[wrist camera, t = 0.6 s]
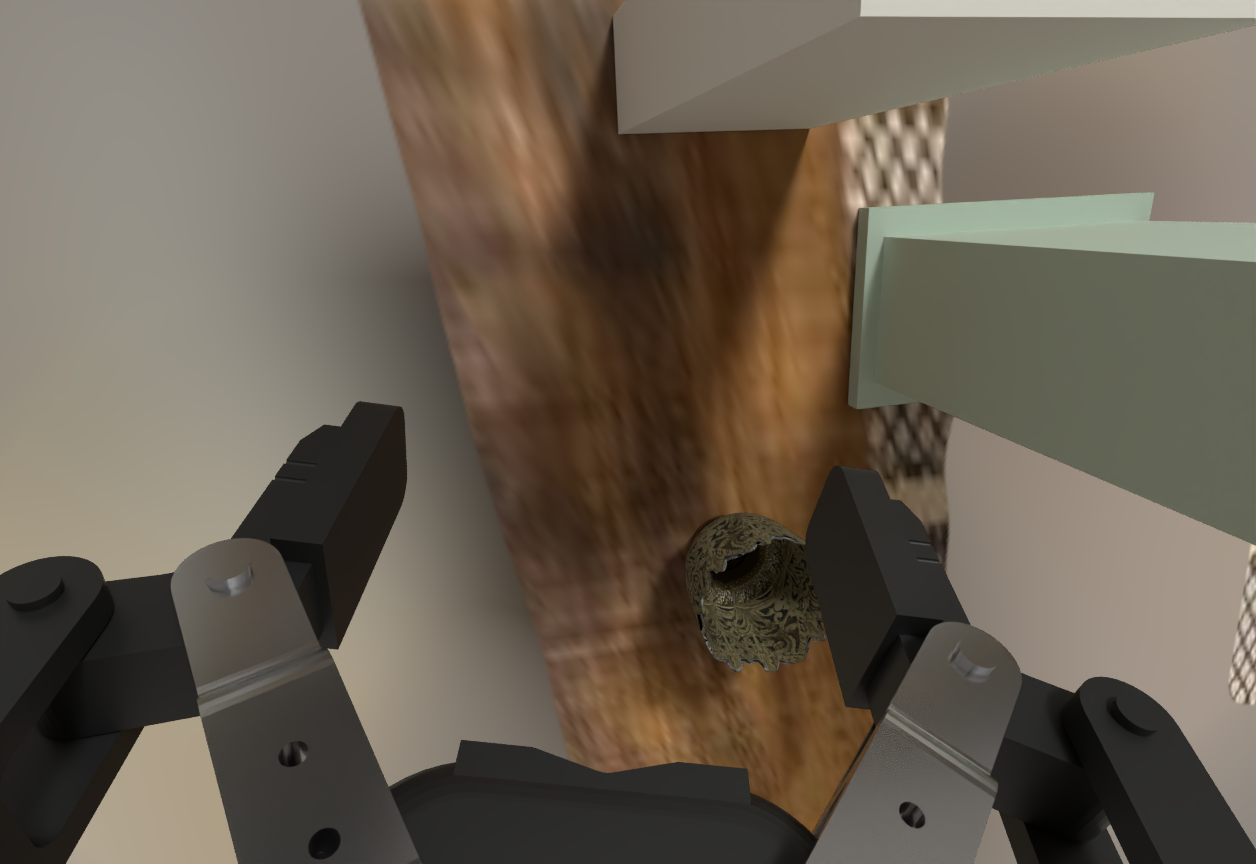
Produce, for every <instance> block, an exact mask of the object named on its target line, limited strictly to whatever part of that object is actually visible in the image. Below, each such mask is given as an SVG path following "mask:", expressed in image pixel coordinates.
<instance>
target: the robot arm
mask: <svg viewBox="0 0 1256 864" xmlns="http://www.w3.org/2000/svg"><path fill="white" fill-rule="evenodd" d="M405 440H406V439H405V420H404V412H403V409H402V407H399V406H391V405H384V404H377V403H369V402H362V401H359V402H357V403H356V404H355V406H354V407H353V409H352V410H351V412H350V413H349V415H348V417H347V418H346V420H345V421H344V423H343V424H342V426H341V427H339V426H331V425H323V426H321V427H320V428H318V429H317V430H315V431H314V432H312V433H311V434H309V435H308V436H306V437H305V438H303V439H302V440H300V441H299V443H298V444H297V446H296V447H295V448H294V450H293V451H292V453H291V454H290V456H289V457H288V458H287V462H286V464H283V466H282V467H281V468H280V470H279V471H278V473H277V474H276V476H275V480H272V481H271V482H270V484H269V485H268V487H267V488H266V490H265V491H264V492H263V494H262V495H261V497H260V498H259V500H258V501H257V502H256V504H255V505H254V507H253V508H252V510H251V511H250V512H249V514H248V515H247V517H246V518H245V519H244V521H243V522H242V524H241V525H240V526H239V528H238V529H237V531H236V532H235V534H234V535H233V536H232V538H231V539H228V540H224V541H220V542H216V543H213V544H211V545H208V546H206V547H204V548H201V549H200V550H198V551H196V552H195V553H193V554H191V555H190V556H189V557H188V558H186V559H185V560H184V561H183V562H182V563H181V564H180V565H179V566H178V568H177V569H176V571H175V572H173V573H169V574H163V575H156V576H148V577H140V578H131V579H123V580H115V581H106V582H105V580H104V577H103V575H102V572H101V571H100V569H99V568H98V566H96V565H95V564H94V563H93V562H91V561H89V560H86V559H83V558H79V557H71V556H57V557H48V558H43V559H38V560H35V561H31V562H28V563H25V564H22V565H20V566H17V567H15V568H13V569H10V570H9V571H6V572H4V573H3V574H1V575H0V864H66V862H67V860H68V859H69V857H70V855H71V853H72V852H73V850H74V848H75V846H76V845H77V843H78V841H79V840H80V838H81V836H82V834H83V833H84V831H85V829H86V827H87V826H88V824H89V822H90V820H91V819H92V817H93V815H94V813H95V812H96V810H97V808H98V806H99V805H100V803H101V801H102V799H103V798H104V796H105V794H106V792H107V791H108V789H109V787H110V785H111V784H112V782H113V780H114V779H115V777H116V775H117V773H118V772H119V770H120V768H121V766H122V765H123V763H124V761H125V759H126V758H127V756H128V754H129V752H130V751H131V749H132V747H133V745H134V744H135V742H136V740H137V738H138V737H139V735H140V733H141V731H142V730H143V728H144V726H148V725H154V724H159V723H165V722H170V721H175V720H180V719H186V718H191V717H197V716H201V720H202V724H203V728H204V732H205V736H206V740H207V744H208V748H209V751H210V755H211V759H212V763H213V767H214V771H215V775H216V779H217V783H218V787H219V790H220V794H221V798H222V802H223V806H224V810H225V814H226V818H227V822H228V825H229V830H230V833H231V837H232V841H233V845H234V849H235V853H236V857H237V861H238V864H973V863H974V860H975V857H976V854H977V851H978V848H979V844H980V842H981V838H982V835H983V833H984V830H985V827H986V824H987V821H988V818H989V815H990V812H991V809H992V808H993V809H995V810H998V811H999V813H1000V816H1001V819H1002V821H1003V824H1004V827H1005V830H1006V833H1007V835H1008V838H1009V841H1010V844H1011V847H1012V849H1013V852H1014V855H1015V858H1016V861H1017V864H1123V863H1122V860H1121V858H1120V856H1119V854H1118V852H1117V850H1116V848H1115V846H1114V843H1113V841H1112V839H1111V837H1110V835H1109V833H1108V831H1107V829H1106V828H1107V827H1108V826H1109V825H1110V824H1111V826H1112V828H1113V830H1114V832H1115V834H1116V836H1117V839H1118V840H1119V842H1120V845H1121V847H1122V849H1123V851H1124V853H1125V855H1126V857H1127V859H1128V861H1129V863H1130V864H1256V849H1255V847H1254V846H1253V844H1252V843H1251V841H1250V839H1249V838H1248V836H1247V835H1246V833H1245V831H1244V830H1243V828H1242V827H1241V825H1240V823H1239V822H1238V820H1237V819H1236V817H1235V815H1234V814H1233V812H1232V811H1231V809H1230V807H1229V806H1228V804H1227V803H1226V801H1225V800H1224V798H1223V796H1222V795H1221V793H1220V792H1219V790H1218V788H1217V787H1216V786H1215V784H1214V782H1213V780H1212V779H1211V777H1210V776H1209V774H1208V772H1207V771H1206V769H1205V768H1204V766H1203V764H1202V763H1201V761H1200V760H1199V759H1198V756H1197V755H1196V753H1195V752H1194V750H1193V748H1192V747H1191V745H1190V744H1189V742H1188V741H1187V739H1186V737H1185V736H1184V734H1183V733H1182V731H1181V729H1180V728H1179V726H1178V725H1177V723H1176V722H1175V721H1174V719H1173V718H1172V717H1171V716H1170V715H1169V713H1168V712H1167V711H1166V710H1165V709H1164V708H1163V707H1162V706H1161V705H1160V704H1158V703H1157V702H1156V701H1155V700H1153V699H1152V698H1151V697H1150V696H1148V695H1147V694H1145V693H1144V692H1142V691H1141V690H1139V689H1137V688H1135V687H1134V686H1131V685H1129V684H1127V683H1125V682H1122V681H1119V680H1117V679H1113V678H1108V677H1094V678H1090V679H1088V680H1086V681H1085V682H1084V683H1083V684H1082V686H1080V688H1079V689H1078V690H1077V691H1076V692H1075V693H1072V692H1070V691H1067V690H1064V689H1062V688H1059V687H1056V686H1054V685H1051V684H1048V683H1046V682H1043V681H1041V680H1038V679H1035V678H1033V677H1030V676H1028V675H1025V674H1023V673H1021V672H1020V668H1019V666H1018V664H1017V662H1016V660H1015V659H1014V657H1013V656H1012V655H1011V653H1010V652H1009V651H1008V650H1007V649H1006V648H1005V647H1004V646H1003V645H1002V644H1001V643H1000V642H999V641H997V640H996V639H995V638H994V637H992V636H991V635H989V634H988V633H986V632H984V631H982V630H980V629H978V628H976V627H973V626H971V625H970V623H969V621H968V619H967V617H966V614H965V612H964V610H963V608H962V606H961V604H960V602H959V600H958V598H957V596H956V594H955V591H954V589H953V587H952V585H951V583H950V581H949V579H948V577H947V575H946V573H945V571H944V569H943V567H942V564H939V558H938V556H937V554H936V552H935V550H934V548H933V547H932V546H930V544H931V542H930V539H929V537H928V535H927V533H926V531H925V529H924V527H923V525H922V523H921V521H920V520H919V519H918V518H917V517H916V516H915V515H914V514H913V513H912V512H911V511H910V510H909V508H908V507H907V506H906V505H905V504H904V503H903V502H902V501H899V500H892V499H890V497H889V495H888V493H887V490H886V488H885V486H884V484H883V481H882V479H881V477H880V475H879V473H878V472H877V471H874V470H866V469H859V468H851V467H843V466H835V467H833V469H832V470H831V471H830V473H829V476H828V478H827V480H826V483H825V485H824V488H823V490H822V493H821V495H820V498H819V500H818V503H817V505H816V508H815V510H814V513H813V515H812V518H811V520H810V523H809V525H808V529H807V534H806V542H805V550H806V558H807V562H808V566H809V569H810V573H811V577H812V581H813V585H814V588H815V592H816V596H817V600H818V604H819V607H820V611H821V615H822V619H823V623H824V626H825V630H826V634H827V638H828V642H829V645H830V649H831V653H832V657H833V661H834V664H835V668H836V672H837V676H838V680H839V683H840V687H841V691H842V695H843V699H844V702H845V706H846V707H852V708H861V709H870V710H871V713H872V717H873V720H874V723H873V725H872V726H871V728H870V729H869V731H868V733H867V735H866V736H865V738H864V740H863V742H862V744H861V745H860V747H859V749H858V751H857V753H856V754H855V756H854V758H853V760H852V762H851V764H850V765H849V767H848V769H847V771H846V773H845V774H844V776H843V778H842V780H841V782H840V783H839V785H838V787H837V789H836V791H835V792H834V794H833V796H832V798H831V800H830V801H829V803H828V805H827V807H826V809H825V810H824V812H823V814H822V816H821V817H820V819H819V821H818V823H817V824H816V826H815V828H814V829H813V831H812V833H811V832H810V831H809V830H808V829H807V828H806V827H805V826H804V825H802V824H801V823H800V822H799V821H797V820H796V819H795V818H794V817H793V816H791V815H790V814H789V813H787V812H786V811H784V810H782V809H781V808H779V807H778V806H776V805H775V804H773V803H771V802H769V801H767V800H765V799H763V798H761V797H759V796H757V795H754V794H752V793H750V788H749V780H748V772H747V769H742V768H733V767H723V766H713V765H703V764H693V763H683V762H675V763H669V764H663V765H657V766H651V767H644V768H638V769H632V770H626V771H620V772H614V773H603V772H599V771H596V770H593V769H590V768H588V767H585V766H582V765H580V764H577V763H574V762H572V761H569V760H566V759H563V758H561V757H558V756H555V755H553V754H549V753H547V752H544V751H542V750H539V749H536V748H533V747H525V746H516V745H506V744H496V743H487V742H486V743H485V742H477V741H467V740H461V742H460V747H459V751H458V756H457V759H456V762H455V763H450V764H445V765H440V766H436V767H433V768H430V769H426V770H423V771H421V772H418V773H416V774H413V775H411V776H409V777H406V778H404V779H402V780H400V781H399V782H397V783H395V784H393V785H392V786H389V787H388V785H387V782H386V780H385V778H384V775H383V773H382V771H381V769H380V766H379V764H378V762H377V759H376V757H375V755H374V752H373V750H372V748H371V745H370V743H369V741H368V738H367V736H366V734H365V731H364V729H363V727H362V725H361V722H360V720H359V718H358V715H357V713H356V711H355V709H354V706H353V704H352V701H351V699H350V697H349V695H348V692H347V690H346V688H345V685H344V683H343V681H342V678H341V676H340V674H339V672H338V669H337V667H336V664H335V662H334V660H333V658H332V656H331V654H330V652H329V650H328V649H327V648H329V649H339V646H340V644H341V642H342V639H343V637H344V635H345V633H346V630H347V628H348V626H349V624H350V621H351V619H352V617H353V615H354V612H355V610H356V607H357V605H358V603H359V601H360V599H361V596H362V594H363V592H364V589H365V587H366V585H367V583H368V580H369V578H370V576H371V573H372V571H373V569H374V567H375V565H376V562H377V560H378V558H379V555H380V553H381V551H382V549H383V546H384V544H385V542H386V539H387V537H388V535H389V533H390V530H391V528H392V526H393V524H394V521H395V519H396V517H397V515H398V512H399V510H400V508H401V505H402V502H403V499H404V495H405V489H406V483H407V460H406V441H405Z"/></svg>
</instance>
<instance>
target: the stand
mask: <svg viewBox="0 0 1256 864" xmlns="http://www.w3.org/2000/svg"><path fill="white" fill-rule="evenodd" d="M1153 197H1154V193H1128V194H1108V195H1090V196H1072V197H1053V198H1035V199H1017V200H998V201H980V202H962V203H943V204H924V205H906V206H888V207H869V208H859V219H858V236H857V253H856V271H855V288H854V305H853V323H852V340H851V357H850V375H849V392H848V405H849V406H851V407H853V408H855V409H865V408H873V407H882V406H891V405H899V404H908V403H916V402H921V403H924V404H926V405H928V406H931V407H933V408H935V409H938V410H940V411H942V412H945V413H947V414H949V415H952V416H954V417H957V418H959V419H961V420H963V421H966V422H968V423H970V424H973V425H975V426H978V427H980V428H982V429H985V430H987V431H989V432H992V433H994V434H996V435H999V436H1001V437H1003V438H1006V439H1008V440H1010V441H1013V442H1015V443H1017V444H1020V445H1022V446H1024V447H1027V448H1029V449H1031V450H1034V451H1036V452H1038V453H1041V454H1043V455H1045V456H1048V457H1050V458H1052V459H1055V460H1057V461H1059V462H1062V463H1064V464H1066V465H1069V466H1071V467H1073V468H1076V469H1078V470H1080V471H1083V472H1085V473H1087V474H1090V475H1092V476H1094V477H1097V478H1099V479H1102V480H1104V481H1106V482H1109V483H1111V484H1113V485H1116V486H1118V487H1120V488H1123V489H1125V490H1127V491H1130V492H1132V493H1134V494H1137V495H1139V496H1141V497H1144V498H1146V499H1148V500H1151V501H1153V502H1155V503H1158V504H1160V505H1162V506H1165V507H1167V508H1169V509H1172V510H1174V511H1176V512H1179V513H1181V514H1183V515H1186V516H1188V517H1191V518H1193V519H1195V520H1197V521H1200V522H1202V523H1204V524H1207V525H1209V526H1212V527H1214V528H1216V529H1218V530H1221V531H1223V532H1225V533H1228V534H1230V535H1232V536H1235V537H1237V538H1240V539H1242V540H1244V541H1246V542H1249V543H1251V544H1253V545H1256V223H1224V222H1223V223H1222V222H1174V221H1149V219H1150V214H1151V208H1152V203H1153Z"/></svg>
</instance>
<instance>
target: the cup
mask: <svg viewBox="0 0 1256 864" xmlns="http://www.w3.org/2000/svg"><path fill="white" fill-rule="evenodd" d="M805 542H806V541H805V540H803V539H802V538H800V537H799V536H797V535H796V534H794V533H793V532H791V531H790V530H788V529H787V528H785V527H784V526H782V525H780V524H779V523H777V522H775V521H773V520H771V519H769V518H767V517H764V516H761V515H757V514H752V513H734V514H729V515H721V516H716V517H713V518H711V519H709V520H708V521H706V522H705V523H704V524H703V525H702V526H701V527H700V528H699V529H698V531H697V533H696V535H695V538H694V541H693V542H692V544H691V546H690V548H689V551H688V554H687V558H686V563H685V581H686V587H687V592H688V595H689V598H690V602H691V605H692V608H693V611H694V614H695V617H696V619H697V622H698V625H699V628H700V632H701V635H702V636H703V638H704V641H705V643H706V645H707V647H708V649H709V651H710V653H711V655H712V656H713V658H714V659H716V660H718V661H725V662H726V663H727V665H728V666H729V667H730V668H731V669H732V670H734V671H735V672H740V671H741V669H742V667H743V665H742V664H743V662H745V663H747V664H750V665H751V664H753V663H754V662H758V663H759V664H761V665H762V666H763V668H764V669H765V671H769V672H776V671H777V670H778V667H779V662H780V663H785V664H794V663H798V662H802V661H804V660H805V658H806V656H807V653H808V649H809V644H810V642H811V638H813V639H815V640H816V641H824V640H825V639H826V635H825V633H824V631H823V628H822V625H821V622H823V619H822V615H821V611H820V607H819V604H818V600H817V596H816V592H815V588H814V585H813V581H812V577H811V573H810V569H809V566H808V562H807V558H806V550H805ZM820 620H822V621H820ZM813 639H812V640H813ZM816 641H814V642H816Z"/></svg>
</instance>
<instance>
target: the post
mask: <svg viewBox="0 0 1256 864" xmlns="http://www.w3.org/2000/svg"><path fill="white" fill-rule="evenodd" d="M1255 25H1256V0H625V1H624V2H623V3H622V5H621V6H620V7H619V9H618V10H617V11H616V13H615V14H614V15H613V29H614V51H615V72H616V94H617V115H618V134H643V133H676V132H710V131H744V130H777V129H810V128H815V127H819V126H823V125H828V124H832V123H836V122H841V121H845V120H849V119H854V118H858V117H862V116H866V115H871V114H875V113H879V112H884V111H888V110H892V109H897V108H901V107H905V106H910V105H914V104H918V103H923V102H927V101H931V100H936V99H940V98H944V97H948V96H953V95H956V94H961V93H965V92H970V91H974V90H979V89H983V88H987V87H991V86H996V85H1000V84H1005V83H1009V82H1013V81H1018V80H1022V79H1026V78H1030V77H1035V76H1039V75H1043V74H1047V73H1052V72H1056V71H1061V70H1065V69H1069V68H1074V67H1078V66H1082V65H1087V64H1091V63H1095V62H1100V61H1104V60H1108V59H1112V58H1117V57H1121V56H1125V55H1130V54H1134V53H1138V52H1143V51H1147V50H1151V49H1155V48H1160V47H1164V46H1168V45H1173V44H1177V43H1181V42H1186V41H1190V40H1194V39H1199V38H1203V37H1207V36H1212V35H1216V34H1220V33H1225V32H1229V31H1233V30H1238V29H1242V28H1246V27H1251V26H1255Z"/></svg>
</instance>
